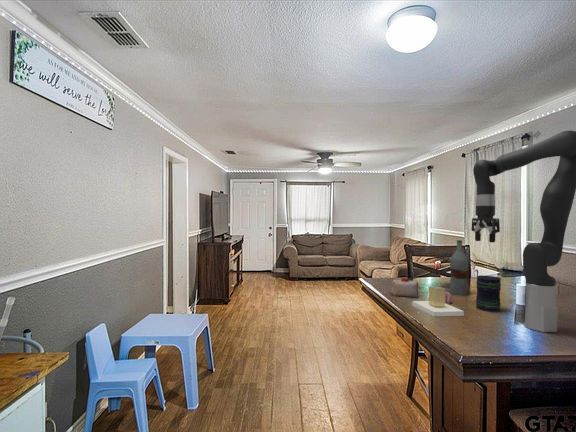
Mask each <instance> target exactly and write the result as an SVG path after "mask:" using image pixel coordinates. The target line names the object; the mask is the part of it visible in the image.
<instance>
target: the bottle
mask: <svg viewBox="0 0 576 432" xmlns="http://www.w3.org/2000/svg"><path fill="white" fill-rule="evenodd" d="M449 260H450V261H449V268H450V269H449V270H450V281H449V285H448V286H449V291H450V292H449V293H450V294H451V295H452V294H453V295H456V296H467V295H468V289H469V285H468V270H469V260H468V257H467V255H466V254H465V252H464V251H463V240H459V239H458V240H456V250H455V251H454V252H453V254H452V255H451V256H450V259H449Z"/></svg>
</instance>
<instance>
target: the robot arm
mask: <svg viewBox="0 0 576 432" xmlns="http://www.w3.org/2000/svg"><path fill="white" fill-rule="evenodd" d="M555 157H559V160H558V166H557V169H556V171H555V173H554V174H553V176H552V177H551V178H550V180H549V182H548V183H547V185H546V187H545V188H544V190H543V192H542V193H543V194H542V196H541V199H540V200H541V202H540V204H539V212H540V217H541V219H542V223H543V227H544V228H543V235H542V239H541V242H531V243H528V244H526V245H525V247H524V248H523V250H522V267H523V268H522V270H523V271H522V273H523V276H524V278H525V302H524V304H525V305H524V306H525V307H524V308H525V309H524V326H525V327H526V328H527V329H530V330H533V331H537V332H541V333H557V332H558V319H559V318H558V313H559V312H558V311H559V309H558V306H556V282H557V281H556V278H555V277H553V276H551V275H550V274H549V273H548V267H554V266H557V264H558V263H559V262H560V261H561V258H562V254H563V249H564V240H565V234H566V228H567V226H568V225H567V224H568V222H569V217H570V214H571V210H572V207H573V204H574V199H575V195H576V130H564V131H561V132H559V133H557V134H555V135H552V136H550V137H549V138H547V139H544V140H542V141H541V140H540V141H539V142H537V143H535V144H533V145H530V146H527V147H524V148H521V149H517V150H514V151H510V152H507V153H504V154H502V155H500V156H498V157H497V158H496V159H492V160H489V159H480V160H477V161H475V164H474V165H473V170H472V172H473V177H474V182H475V185H476V197H475V216H477V217H473V218H471V227H470V228H471V229H470V230H471V231H472V232H473V233H474V240H475V241H476V242H480V241H482V239H481V238H482V237H481V235H482V234H481V232H482V231H483V230H484V229H486V230H487V231H488V233H489V235H488V237H489V238H488V242H489V243H495V242H496V234H497V233H500V232H501V231H500V229H501V228H500V218H498V217H497V218H496V217H495V215H496V184H495V183H494V181H492V180H491V178H490V177H495V176H498V175H500V174H502V173H505V172H508V171H511V170H515V169H519V168H522V167H525V166H528V165H529V164H532V163H534V162H535V161H539V160H542V159H548V158H555ZM494 217H495V218H494Z"/></svg>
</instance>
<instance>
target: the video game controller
mask: <svg viewBox="0 0 576 432" xmlns="http://www.w3.org/2000/svg"><path fill="white" fill-rule="evenodd" d="M452 298H453V295H452V293H451V292H449V291H447V290H445V303H446V304H448V305H450V304H451V301H452Z"/></svg>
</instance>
